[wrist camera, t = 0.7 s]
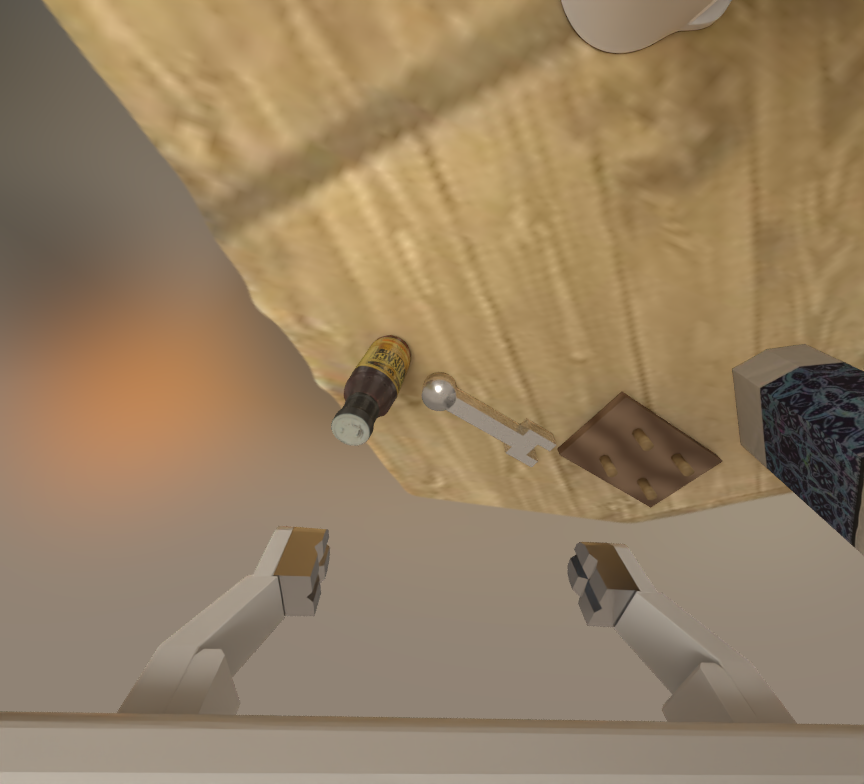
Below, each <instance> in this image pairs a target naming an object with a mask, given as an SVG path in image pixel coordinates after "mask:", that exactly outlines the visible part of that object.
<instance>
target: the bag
mask: <svg viewBox="0 0 864 784" xmlns="http://www.w3.org/2000/svg"><path fill="white" fill-rule="evenodd" d="M732 372H733V380H734V389H735V398H736V407H737V415H738V424H739V433H740V442H741V445H742V446H743V447H744V448H745V449H746V450H748V451H749V452H750V453H751V454H752V455H753V456H754V457H755V458H756V459H757V460H759V461H760V462H761V463H762V464H763V465H764V466H765V467H766V468H767V469H769V470H770V471H771V472H772V473H773V474H774V475H775V476H776V477H777V478H778V479H780V480H781V481H782V482H783V483H784V484H785V485H786V486H787V487H788V488H790V489H791V490H792V491H793V492H794V493H795V494H796V495H797V496H798V497H799V498H801V499H802V500H803V501H804V502H805V503H806V504H807V505H808V506H809V507H811V508H812V509H813V510H814V511H815V512H816V513H817V514H818V515H819V516H820V517H822V518H823V519H824V520H825V521H826V522H827V523H828V524H829V525H830V526H831V527H833V528H834V529H835V530H836V531H837V532H838V533H839V534H840V535H841V536H843V537H844V538H845V539H846V540H847V541H848V542H849V543H850V544H851V545H853V546H854V547H855V548H856V549H857V550H858V551H859V552H860V553H862V555H864V371H862V370H859V369H857V368H855V367H853V366H851V365H849V364H847V363H844V362H842V361H840V360H838V359H836V358H834V357H831V356H829V355H827V354H825V353H823V352H821V351H819V350H816V349H814V348H812V347H810V346H808V345H806V344H802V345H794V346H787V347H780V348H773V349H766V350H765V351H763V352H761V353H759V354H758V355H756V356H754V357H752V358H751V359H749V360H747V361H745V362H744V363H742V364H740V365H738V366H737V367H735V368H733V369H732Z"/></svg>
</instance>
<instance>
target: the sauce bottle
mask: <svg viewBox="0 0 864 784" xmlns="http://www.w3.org/2000/svg"><path fill="white" fill-rule="evenodd" d="M410 357H411V354H410V351H409V348H408V345H407V344H406V343H405V341H403V340H402V339H400V338H398V337H395V336H392V335H390V336H384V337H381V338H379V339H377V340H376V341H375V342H374V343H373V344H372V345H371V346H370V348H369V349H368V351H367V352H366V354H365V355H364V357H363V358H362V359H361V361H360V362H359V364H358V365H357V366H356V368H355V369H354V371H353V372H352V375H351V376H350V378H349V379H348V381H347V383H346V385H345V389H344V398H345V401H346V402H345V405H344V406H343V408H342V409H341V410H340V411H338V413H337V414H336V415H335V417H334V419H333V421H332V425H331V426H332V427H331V429H332V432H333V434H334V435H335V437H336V438H337V439H339V440H340V441H341V442H343V443H345V444H347V445H361V444H363V443H365V442H366V441H367V440H368V439H369V437H370V436H371V434H372V432H373V426H374V422H375V420H376V419H377V418H378V417H380V416H384V415H385V414H386V413H387V412H388V410H389V409H390V407H391V406H392V404H393V402H394V401H395V399H396V398H397V395H398V393H399V390H400V388H401V385H402V383H403V380H404V377H405V375H406V372H407V370H408V367H409V364H410Z"/></svg>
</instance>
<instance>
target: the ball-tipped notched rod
mask: <svg viewBox="0 0 864 784" xmlns="http://www.w3.org/2000/svg"><path fill="white" fill-rule="evenodd" d="M422 400H423V402H424V404H425V405H426V406H427V407H428V408H430V409H432V410H435V411H444V410H447V411H449V412H451V413H452V414H454V415H456V416H458V417H459V418H461V419H463V420H465V421H467V422H468V423H470V424H472V425H474V426H475V427H477V428H479V429H481V430H483V431H484V432H486V433H488V434H490V435H492V436H493V437H495V438H497V439H499V440H500V441H502V442H504V446H505V452H506V453H507V454H508V455H510V456H512V457H514V458H516V459H517V460H519V461H521V462H523V463H525V464H526V465H528V466H530V467H533V466H534V465H535V464H536V463H537V462H538V460H537V456H536V453H535V450H534V449H533V448H534V447H535V446H537V445H540V446H542V447H543V448H545V449H547V450H548V451H551V450H552V449H553V448H554V447H555V446H556V442H555V439H554V437H553V434H552V433H551V432H549V431H547V430H546V429H544V428H542V427H541V426H539V425H537V424H536V423H534V422H532V421H531V420H529V419H527V418H526V419H525V420H524V421H523V422H522V423H521V424H518V423H517V422H515V421H513V420H512V419H510V418H508V417H506V416H505V415H503V414H501V413H500V412H498V411H496V410H495V409H493V408H491V407H489V406H488V405H486V404H484V403H483V402H481V401H479V400H477V399H476V398H474V397H472V396H471V395H469V394H467V393H465V392H464V391H462V390H460V389H459V388H457V387H456V382H455V380H454V379H453V378H452V377H451V376H450V375H448V374H446V373H442V372H437V373H433V374H431V375H429V376H428V377H427V378H426V380H425V382H424V386H423V391H422Z"/></svg>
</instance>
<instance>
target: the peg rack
mask: <svg viewBox="0 0 864 784" xmlns="http://www.w3.org/2000/svg"><path fill="white" fill-rule="evenodd" d="M558 452H559V454H560V455H561V456H563V457H565V458H566V459H568V460H570V461H572V462H573V463H575V464H577V465H578V466H580V467H582V468H584V469H585V470H587V471H589V472H591V473H592V474H594V475H596V476H598V477H599V478H601V479H603V480H604V481H606V482H608V483H610V484H611V485H613V486H615V487H617V488H618V489H620V490H622V491H623V492H625V493H627V494H629V495H630V496H632V497H634V498H636V499H637V500H639V501H641V502H642V503H644V504H646V505H648V506H649V507H652V506H654V505H655V504H657V503H658V502H660V501H661V500H663V499H665V498H666V497H668V496H669V495H671V494H672V493H674V492H675V491H677V490H679V489H680V488H682V487H683V486H685V485H686V484H688V483H689V482H691V481H693V480H694V479H696V478H697V477H699V476H700V475H702V474H703V473H705V472H707V471H708V470H710V469H711V468H713V467H714V466H716V465H717V464H719V463H721V462H722V460H721V459H720V458H719V457H718V456H717V455H716V454H714V453H713V452H711V451H710V450H708V449H707V448H705V447H704V446H702V445H701V444H699V443H698V442H697V441H695V440H694V439H692V438H691V437H689V436H688V435H686V434H685V433H683V432H682V431H680V430H679V429H677V428H676V427H674V426H673V425H671V424H670V423H668V422H667V421H665V420H664V419H662V418H661V417H659V416H658V415H656V414H655V413H653V412H652V411H650V410H649V409H647V408H646V407H644V406H643V405H641V404H640V403H638V402H637V401H635V400H634V399H632V398H631V397H629V396H628V395H626V394H625V393H623V392H621V393H620V394H619V395H618V396H617V397H615V398H614V399H613V400H612V401H611V402H610V403H609V404H607V405H606V406H605V407H604V408H603V409H602V410H601V411H600V412H598V413H597V414H596V415H595V416H594V417H593V418H592V419H590V420H589V421H588V422H587V423H586V424H585V425H584V426H583V427H581V428H580V429H579V430H578V431H577V432H576V433H575V434H574V435H572V436H571V437H570V438H569V439H568V440H567V441H566V442H564V443H563V444H562V445H561V446H560V447H559V448H558Z"/></svg>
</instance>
